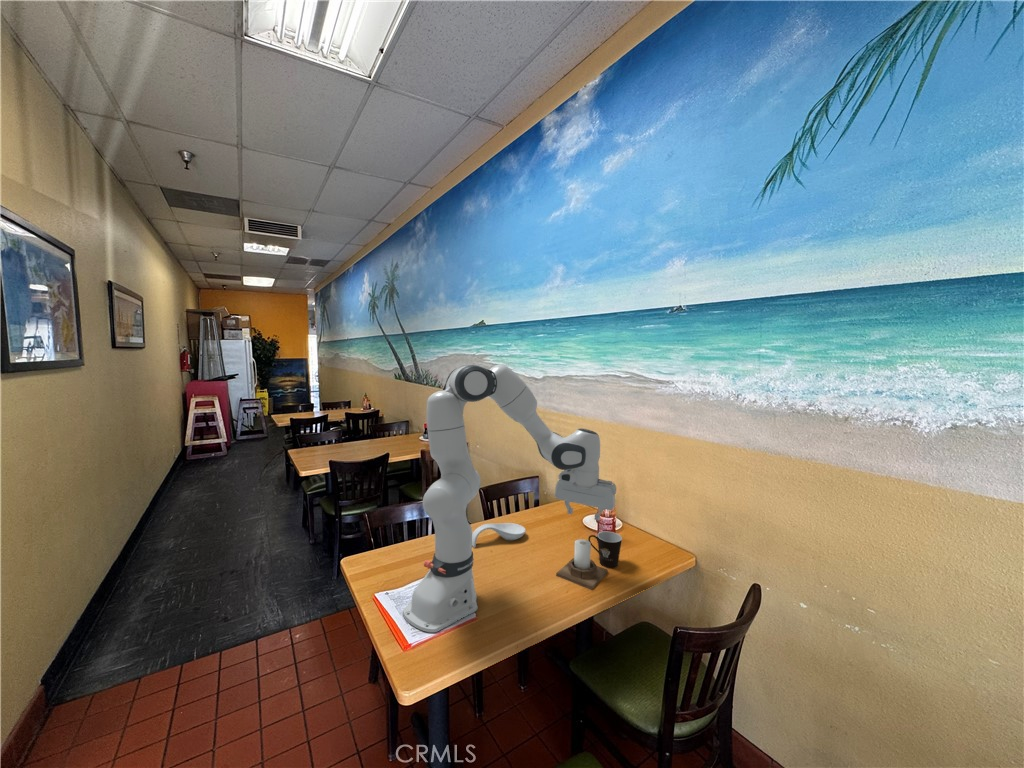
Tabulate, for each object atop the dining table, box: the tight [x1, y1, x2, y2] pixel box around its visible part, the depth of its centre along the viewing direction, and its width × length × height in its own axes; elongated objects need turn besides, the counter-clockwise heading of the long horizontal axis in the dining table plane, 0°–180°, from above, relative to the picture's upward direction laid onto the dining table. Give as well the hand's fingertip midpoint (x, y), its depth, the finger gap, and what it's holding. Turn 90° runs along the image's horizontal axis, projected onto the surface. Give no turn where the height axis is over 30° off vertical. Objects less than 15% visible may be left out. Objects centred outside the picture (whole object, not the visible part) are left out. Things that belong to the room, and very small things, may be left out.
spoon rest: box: [472, 522, 527, 549], centre depth 156 cm, size 24×12×7 cm, turn 119°
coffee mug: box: [587, 530, 623, 569], centre depth 140 cm, size 12×9×10 cm
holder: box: [555, 557, 609, 591], centre depth 132 cm, size 13×13×4 cm
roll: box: [573, 538, 592, 570], centre depth 132 cm, size 5×5×10 cm
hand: (583, 516), depth 131 cm, fingers open, 8 cm apart
